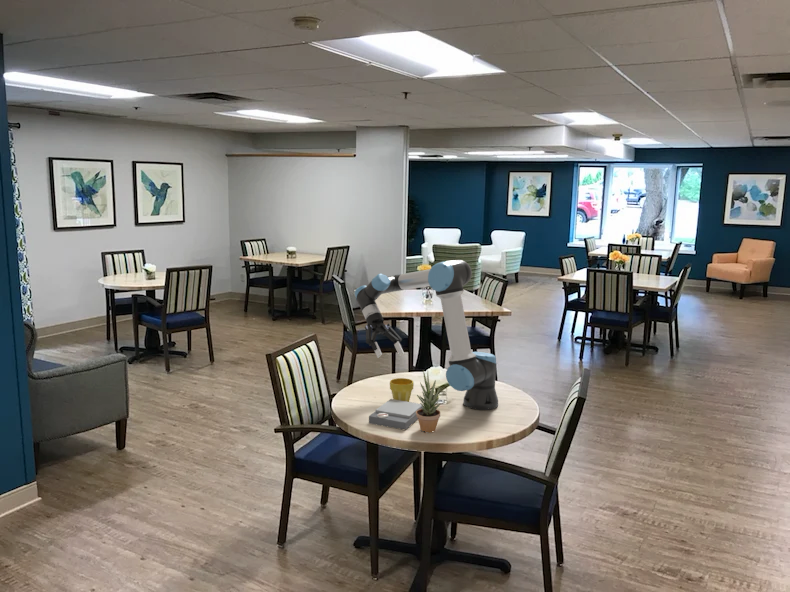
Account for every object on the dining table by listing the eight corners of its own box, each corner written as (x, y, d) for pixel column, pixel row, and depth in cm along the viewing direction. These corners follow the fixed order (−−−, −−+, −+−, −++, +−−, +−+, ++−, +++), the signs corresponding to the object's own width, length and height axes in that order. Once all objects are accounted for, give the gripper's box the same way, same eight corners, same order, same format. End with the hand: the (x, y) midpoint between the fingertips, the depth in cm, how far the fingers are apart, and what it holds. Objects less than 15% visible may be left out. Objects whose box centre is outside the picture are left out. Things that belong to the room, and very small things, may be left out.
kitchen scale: (424, 413, 266) (424, 404, 265) (405, 430, 248) (405, 420, 247) (389, 407, 272) (389, 398, 272) (368, 423, 254) (368, 413, 254)
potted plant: (414, 425, 253) (416, 365, 249) (438, 425, 254) (440, 365, 249) (417, 435, 243) (418, 373, 239) (441, 434, 244) (443, 373, 239)
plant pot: (391, 398, 284) (391, 377, 283) (414, 399, 283) (414, 378, 281) (387, 405, 274) (388, 384, 273) (411, 407, 273) (412, 385, 271)
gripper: (388, 321, 302) (405, 359, 292) (347, 320, 284) (365, 361, 275) (397, 312, 297) (415, 350, 288) (356, 311, 280) (375, 351, 271)
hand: (391, 355), depth 281 cm, fingers open, 13 cm apart
